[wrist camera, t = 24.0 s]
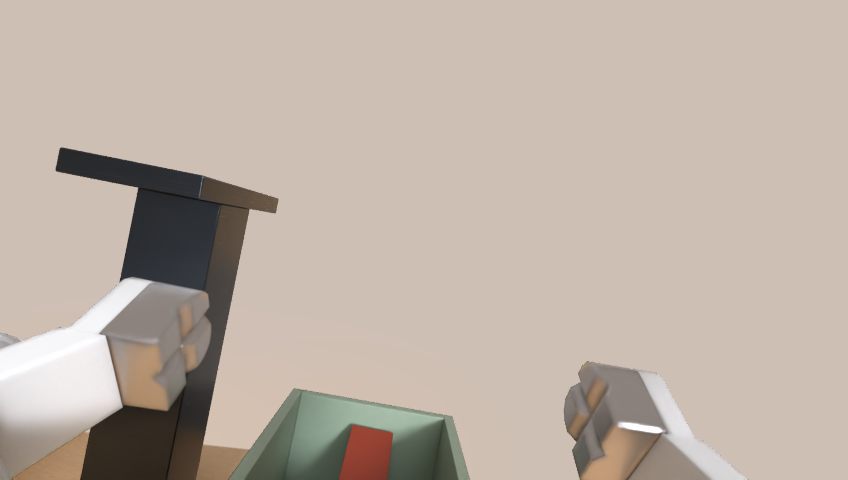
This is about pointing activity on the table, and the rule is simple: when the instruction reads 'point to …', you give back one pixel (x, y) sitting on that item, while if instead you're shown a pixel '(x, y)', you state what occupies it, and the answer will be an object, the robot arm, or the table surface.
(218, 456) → the table surface
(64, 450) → the table surface
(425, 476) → the green open box
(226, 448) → the table surface
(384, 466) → the red flat bar
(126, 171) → the shelf stand
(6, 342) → the disposable coffee cup
